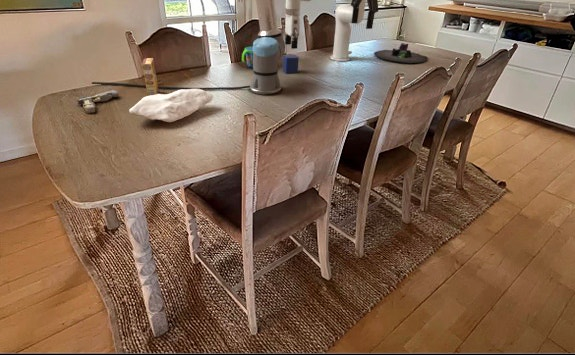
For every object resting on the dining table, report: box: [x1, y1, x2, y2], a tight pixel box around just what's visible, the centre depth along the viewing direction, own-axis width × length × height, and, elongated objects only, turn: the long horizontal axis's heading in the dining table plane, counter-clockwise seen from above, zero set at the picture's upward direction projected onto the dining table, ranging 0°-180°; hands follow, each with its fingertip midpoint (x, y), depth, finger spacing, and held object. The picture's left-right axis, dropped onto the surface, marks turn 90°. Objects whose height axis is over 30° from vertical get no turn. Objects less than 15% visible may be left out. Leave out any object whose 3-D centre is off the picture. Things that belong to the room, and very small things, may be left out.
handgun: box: [76, 89, 120, 114], centre depth 155 cm, size 3×18×15 cm
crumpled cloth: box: [129, 89, 214, 123], centre depth 147 cm, size 24×35×9 cm
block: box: [282, 54, 299, 74], centre depth 203 cm, size 5×7×8 cm
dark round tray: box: [373, 42, 428, 64], centre depth 240 cm, size 35×35×9 cm
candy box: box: [141, 57, 160, 96], centre depth 163 cm, size 9×4×15 cm, turn 13°
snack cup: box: [241, 45, 253, 69], centre depth 208 cm, size 16×10×10 cm
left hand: (361, 25), depth 167 cm, fingers open, 13 cm apart
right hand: (291, 46), depth 198 cm, fingers open, 9 cm apart
